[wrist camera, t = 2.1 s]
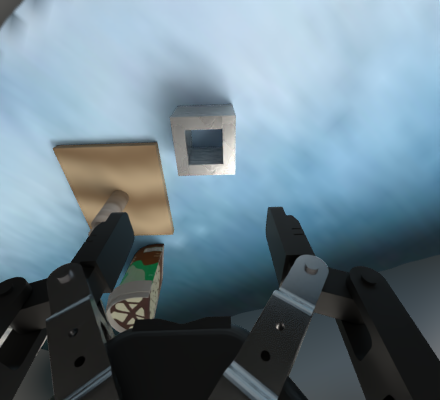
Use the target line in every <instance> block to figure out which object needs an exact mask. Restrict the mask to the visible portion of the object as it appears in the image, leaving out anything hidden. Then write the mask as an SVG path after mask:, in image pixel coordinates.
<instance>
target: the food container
mask: <svg viewBox="0 0 440 400" xmlns="http://www.w3.org/2000/svg"><path fill="white" fill-rule="evenodd" d="M163 256H164V244H153V245H147V246H145V247H143V248H141V249H140V250H139V251H138V252H137V253H136V254H135V256H134V258H133V260H132V262H131V264H130V266H129V268H128V270H127V272H126V274H125V276H124V278H123V280H122V282H121V284H120V286H118V287H117V288H115V289H114V290H113V292H112V293H110V295H109V298H108V303H107V308H106V313H107V317H108V320H109V323H110V325H111V326H112V327H113V328H114V329H116V330H117V331H119V332H120V333H121V332H123V331H125V330H128V329H130V328H133V325H134V322H135V319H154V316H155V312H156V307H157V303H158V298H159V294H160V289H161V285H162V280H163Z"/></svg>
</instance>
